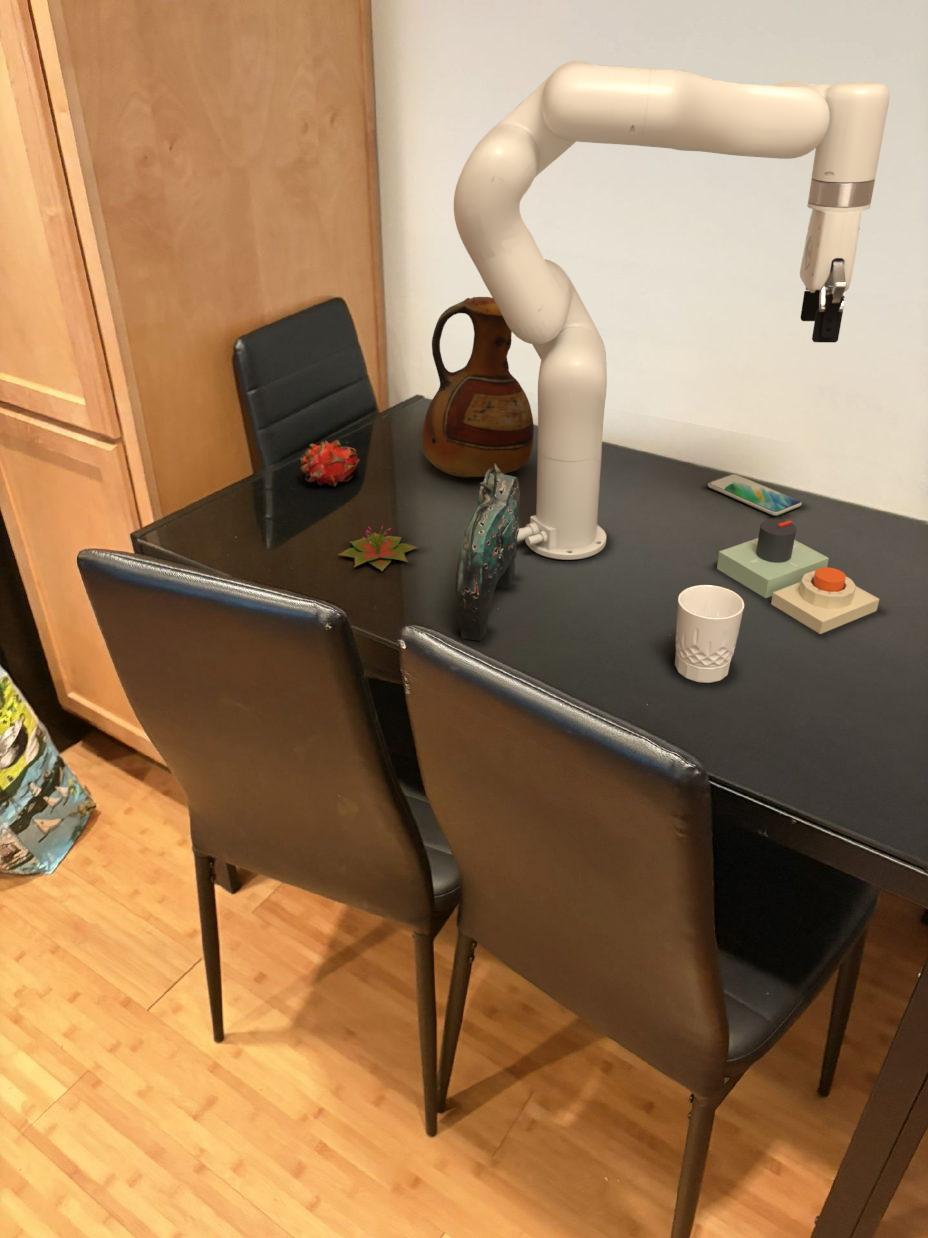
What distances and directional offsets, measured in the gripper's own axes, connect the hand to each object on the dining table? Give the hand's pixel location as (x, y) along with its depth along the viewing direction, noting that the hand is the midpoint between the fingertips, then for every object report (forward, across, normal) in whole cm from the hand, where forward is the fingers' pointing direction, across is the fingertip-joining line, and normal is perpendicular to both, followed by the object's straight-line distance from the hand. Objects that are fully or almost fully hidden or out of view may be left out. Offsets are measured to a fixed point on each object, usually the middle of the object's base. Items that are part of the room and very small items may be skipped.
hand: (818, 330), depth 131 cm
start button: (+30, +16, +3) cm, 34 cm away
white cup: (+34, +33, -14) cm, 49 cm away
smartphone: (+34, -18, -2) cm, 38 cm away
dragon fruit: (+33, -18, -76) cm, 85 cm away
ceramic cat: (+33, +21, -43) cm, 58 cm away
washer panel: (+34, +7, -3) cm, 34 cm away
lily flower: (+33, +8, -62) cm, 71 cm away
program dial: (+31, +7, -3) cm, 32 cm away
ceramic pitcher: (+33, -26, -50) cm, 66 cm away
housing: (+34, +16, +3) cm, 38 cm away
